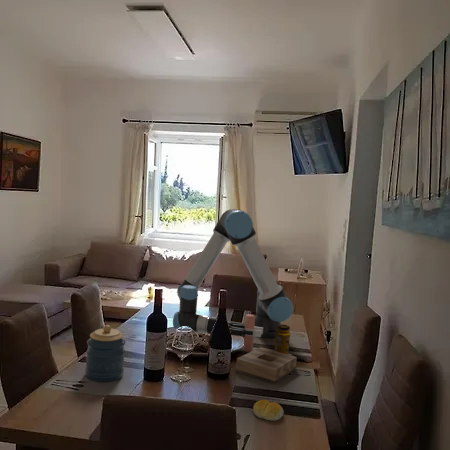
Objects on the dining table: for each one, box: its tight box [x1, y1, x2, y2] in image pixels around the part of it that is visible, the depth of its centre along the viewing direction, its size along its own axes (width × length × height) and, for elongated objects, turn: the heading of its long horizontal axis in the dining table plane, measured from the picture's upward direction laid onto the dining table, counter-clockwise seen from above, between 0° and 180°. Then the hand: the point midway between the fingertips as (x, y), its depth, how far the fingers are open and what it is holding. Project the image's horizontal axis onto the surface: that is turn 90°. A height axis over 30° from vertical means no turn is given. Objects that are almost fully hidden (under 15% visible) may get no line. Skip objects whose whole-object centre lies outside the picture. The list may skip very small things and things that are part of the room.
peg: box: [243, 313, 256, 353], centre depth 200 cm, size 4×4×15 cm
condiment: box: [273, 323, 293, 356], centre depth 198 cm, size 7×8×12 cm
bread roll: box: [252, 399, 284, 422], centre depth 143 cm, size 8×9×4 cm
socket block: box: [235, 346, 298, 384], centre depth 178 cm, size 18×16×5 cm
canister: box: [84, 324, 127, 383], centre depth 163 cm, size 13×13×18 cm
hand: (261, 332), depth 198 cm, fingers closed on peg, 4 cm apart
